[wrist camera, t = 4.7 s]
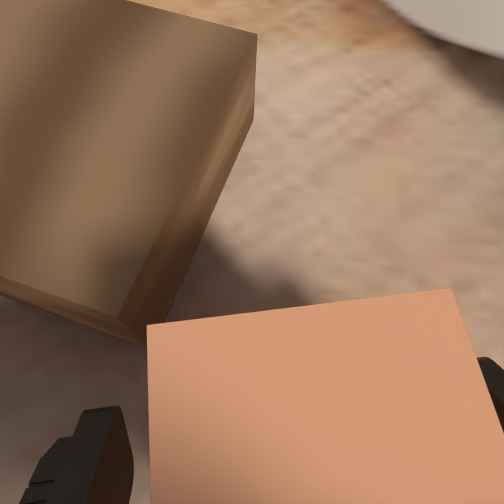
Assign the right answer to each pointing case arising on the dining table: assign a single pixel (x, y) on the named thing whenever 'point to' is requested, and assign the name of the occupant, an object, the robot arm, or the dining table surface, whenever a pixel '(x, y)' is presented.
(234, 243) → the dining table surface
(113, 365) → the dining table surface
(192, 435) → the peach tall block
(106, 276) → the walnut block
